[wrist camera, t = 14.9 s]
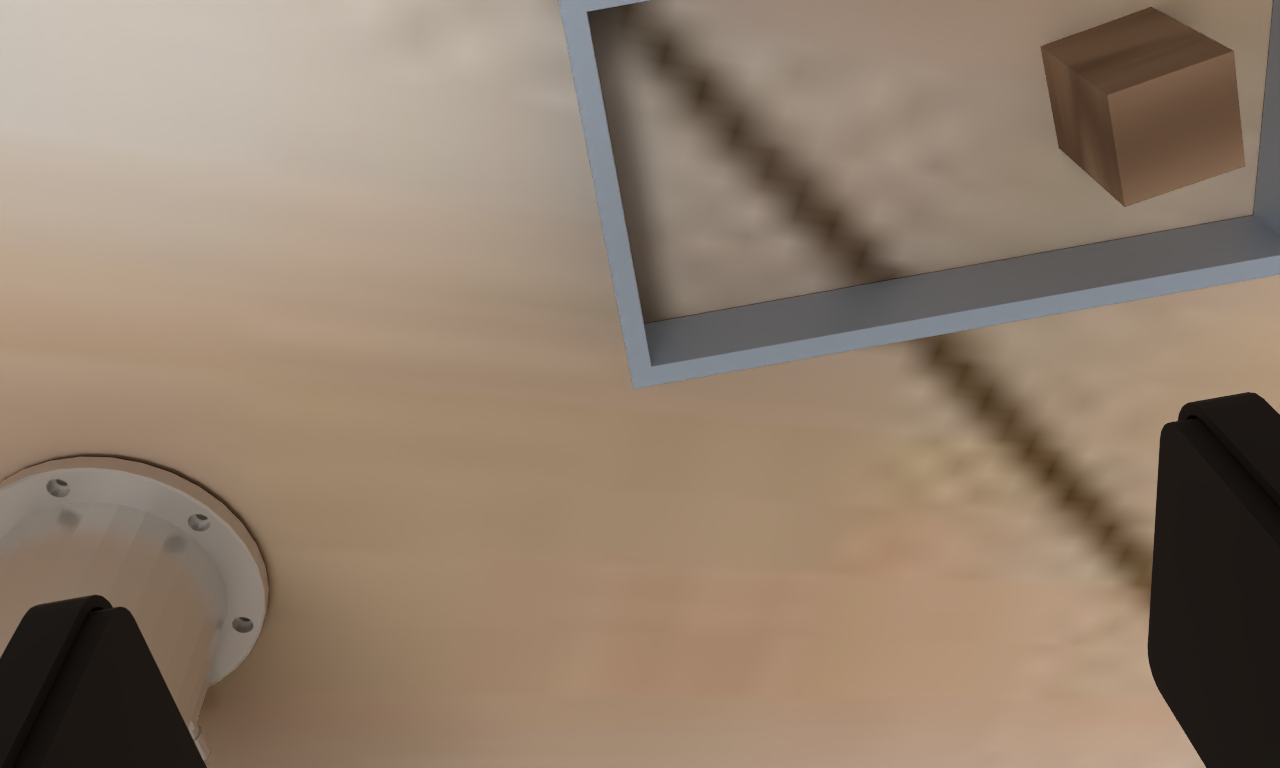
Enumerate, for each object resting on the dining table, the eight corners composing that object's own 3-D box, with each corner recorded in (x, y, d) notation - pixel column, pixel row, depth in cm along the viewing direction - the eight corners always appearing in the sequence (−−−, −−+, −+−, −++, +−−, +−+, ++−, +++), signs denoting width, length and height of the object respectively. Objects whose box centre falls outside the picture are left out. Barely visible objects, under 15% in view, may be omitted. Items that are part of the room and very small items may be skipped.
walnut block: (1164, 110, 45) (1245, 165, 40) (1058, 147, 46) (1124, 206, 41) (1150, 6, 43) (1233, 51, 38) (1040, 46, 44) (1107, 95, 39)
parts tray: (1271, 230, 48) (1321, 267, 45) (627, 345, 49) (633, 389, 45) (1313, -172, 41) (1375, -161, 38) (555, -32, 41) (556, -10, 38)
